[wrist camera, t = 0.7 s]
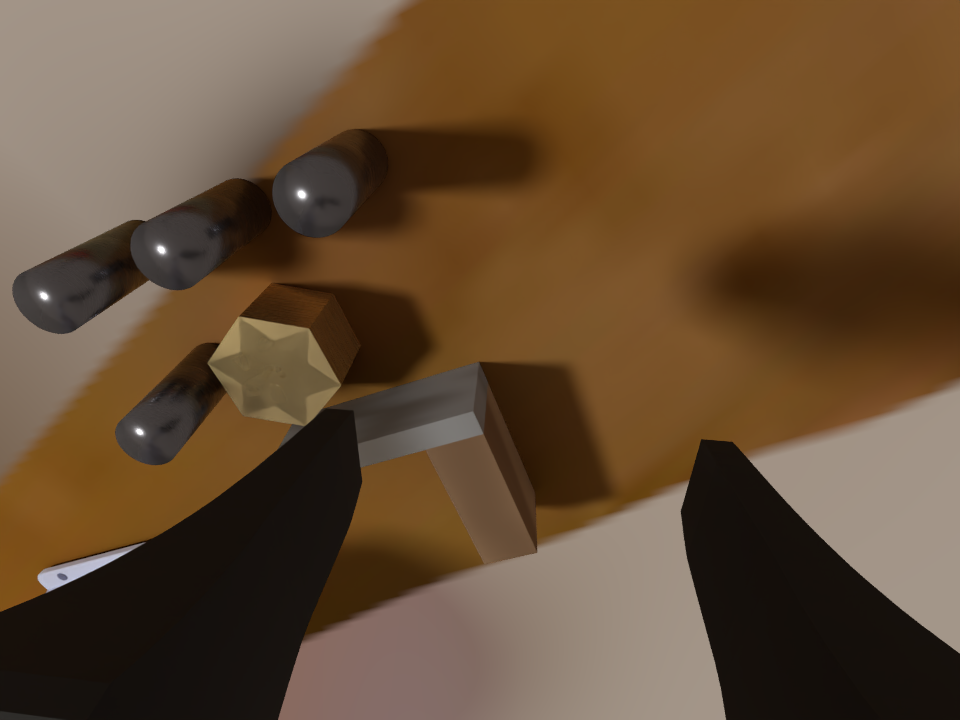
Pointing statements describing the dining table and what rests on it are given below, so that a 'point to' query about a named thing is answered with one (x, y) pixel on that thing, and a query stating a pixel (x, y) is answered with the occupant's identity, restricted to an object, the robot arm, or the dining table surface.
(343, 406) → the hook tool
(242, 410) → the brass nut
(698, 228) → the dining table surface
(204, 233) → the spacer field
